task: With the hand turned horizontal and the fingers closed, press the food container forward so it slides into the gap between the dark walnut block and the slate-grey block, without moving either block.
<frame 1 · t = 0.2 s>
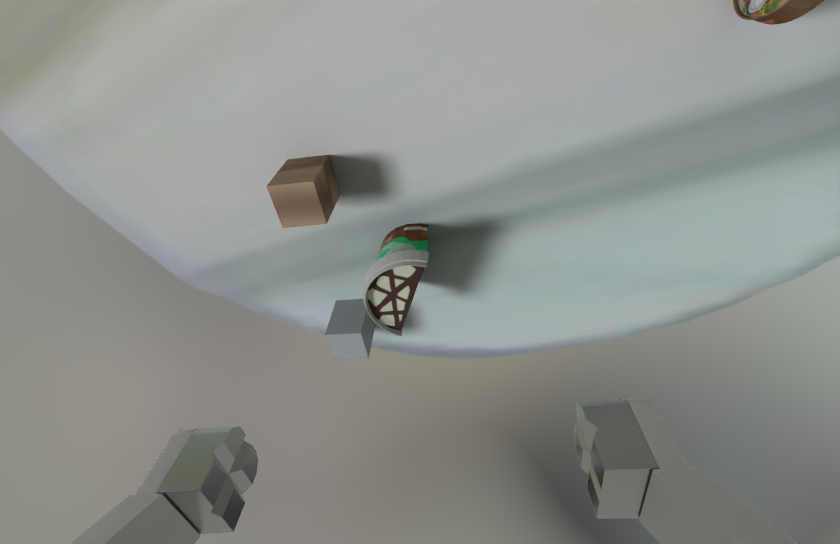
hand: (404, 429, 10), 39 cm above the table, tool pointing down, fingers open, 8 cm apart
walnut block: (314, 177, 48), on the table
slate block: (356, 311, 62), on the table
food container: (396, 247, 54), on the table
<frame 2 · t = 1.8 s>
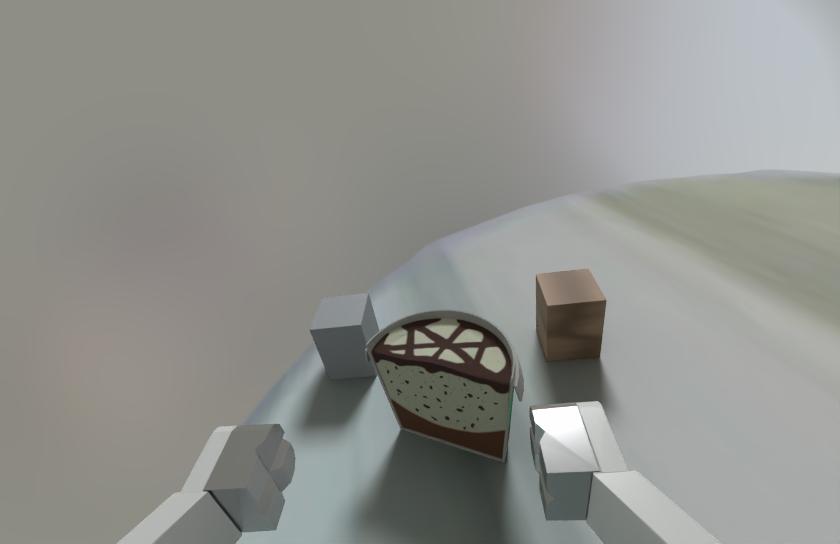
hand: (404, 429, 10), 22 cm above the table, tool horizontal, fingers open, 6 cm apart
walnut block: (566, 341, 41), on the table
slate block: (357, 360, 44), on the table
food container: (462, 417, 36), on the table
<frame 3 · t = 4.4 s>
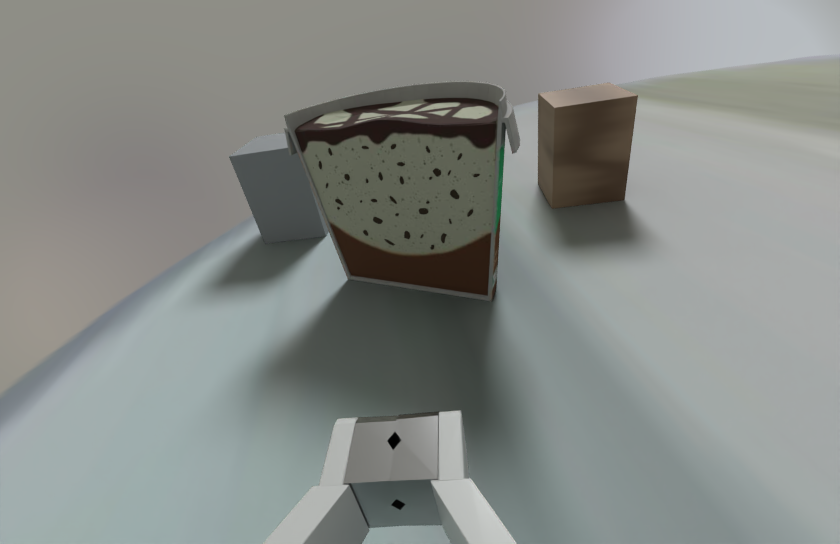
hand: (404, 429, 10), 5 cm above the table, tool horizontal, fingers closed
walnut block: (577, 191, 31), on the table
slate block: (304, 225, 34), on the table
food container: (435, 264, 26), on the table
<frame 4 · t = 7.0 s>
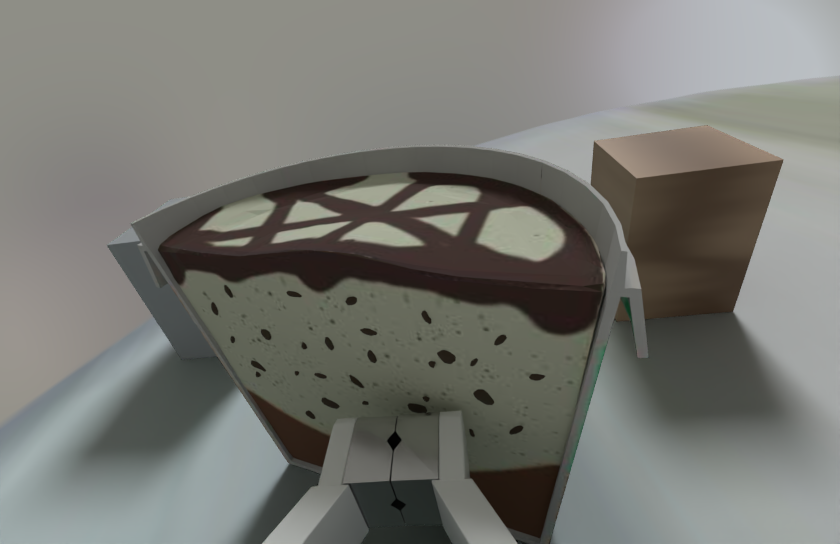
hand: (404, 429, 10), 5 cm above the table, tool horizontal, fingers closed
walnut block: (650, 285, 21), on the table
slate block: (244, 324, 23), on the table
food container: (433, 426, 16), on the table
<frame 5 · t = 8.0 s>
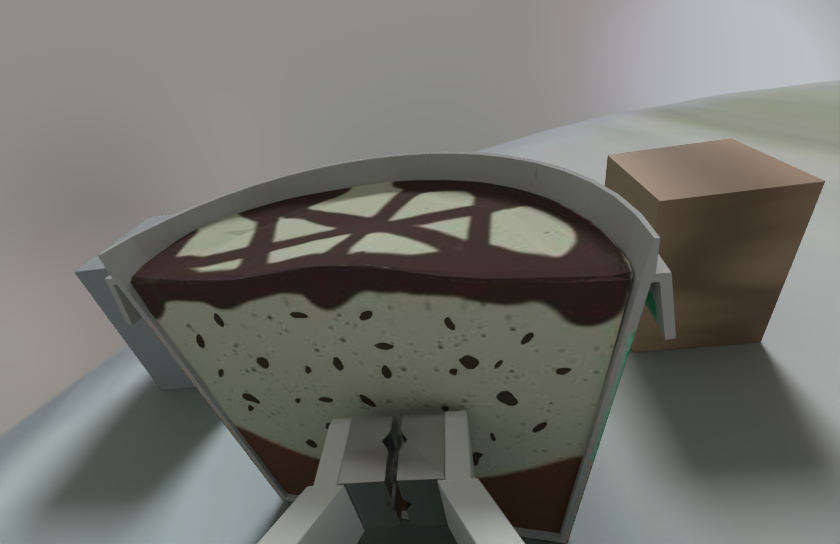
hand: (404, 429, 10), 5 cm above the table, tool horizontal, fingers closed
walnut block: (667, 310, 19), on the table
slate block: (231, 350, 22), on the table
food container: (430, 438, 16), on the table, touching gripper
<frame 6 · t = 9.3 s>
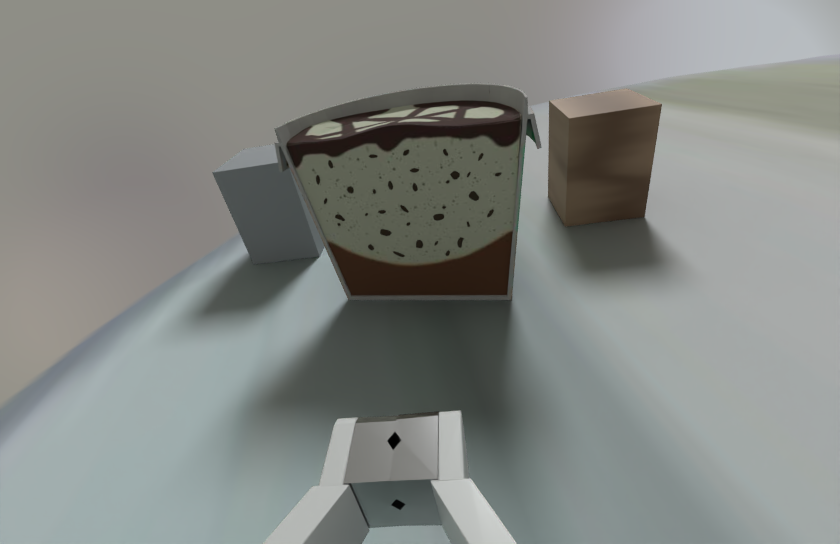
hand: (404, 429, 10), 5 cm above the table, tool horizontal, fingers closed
walnut block: (592, 206, 29), on the table
slate block: (296, 243, 31), on the table
food container: (435, 272, 25), on the table
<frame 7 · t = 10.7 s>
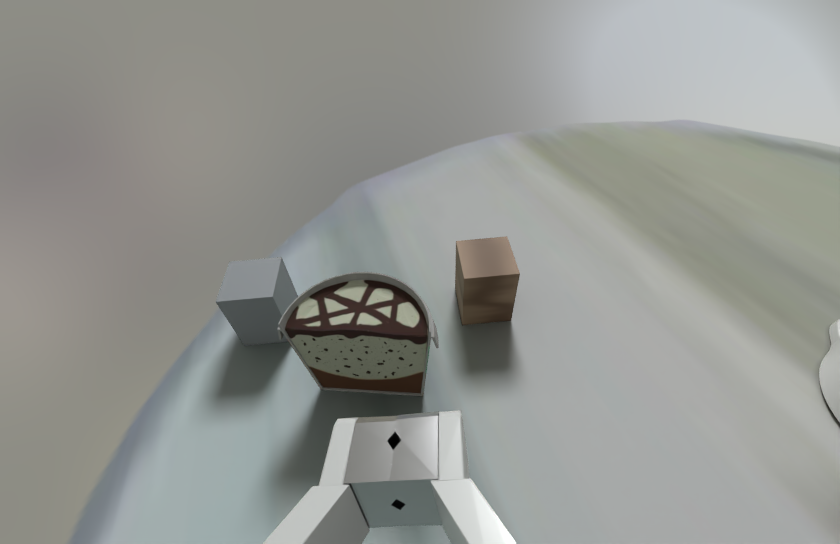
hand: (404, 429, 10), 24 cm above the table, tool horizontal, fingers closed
walnut block: (482, 303, 43), on the table
slate block: (273, 323, 43), on the table
food container: (377, 364, 39), on the table
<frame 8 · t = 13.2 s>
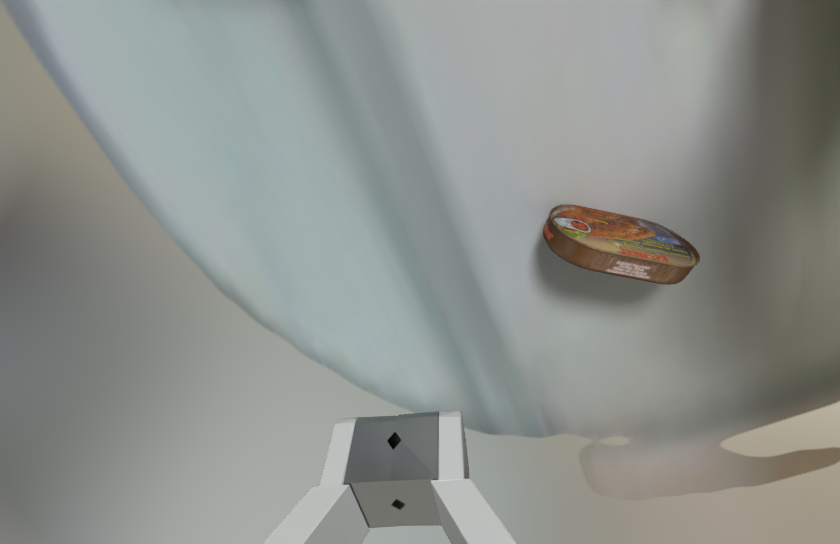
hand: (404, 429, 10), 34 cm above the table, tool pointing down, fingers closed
tin: (603, 224, 44), on the table
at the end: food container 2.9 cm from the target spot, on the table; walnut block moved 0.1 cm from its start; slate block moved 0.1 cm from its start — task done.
